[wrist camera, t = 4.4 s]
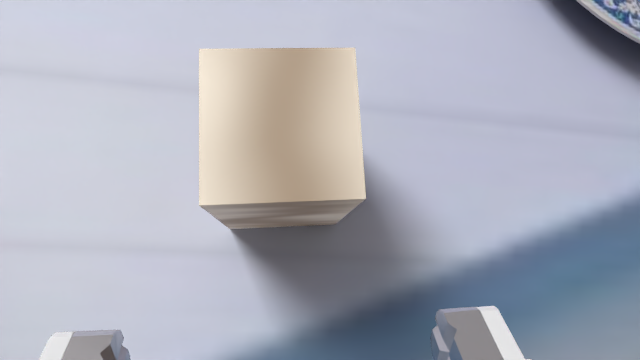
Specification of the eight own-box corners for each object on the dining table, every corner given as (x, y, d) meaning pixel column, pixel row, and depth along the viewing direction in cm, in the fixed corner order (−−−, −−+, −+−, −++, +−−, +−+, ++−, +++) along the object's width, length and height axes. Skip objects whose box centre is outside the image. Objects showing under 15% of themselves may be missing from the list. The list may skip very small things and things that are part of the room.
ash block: (229, 229, 21) (199, 205, 13) (228, 127, 22) (199, 48, 14) (335, 224, 21) (366, 198, 14) (329, 125, 22) (355, 47, 15)
